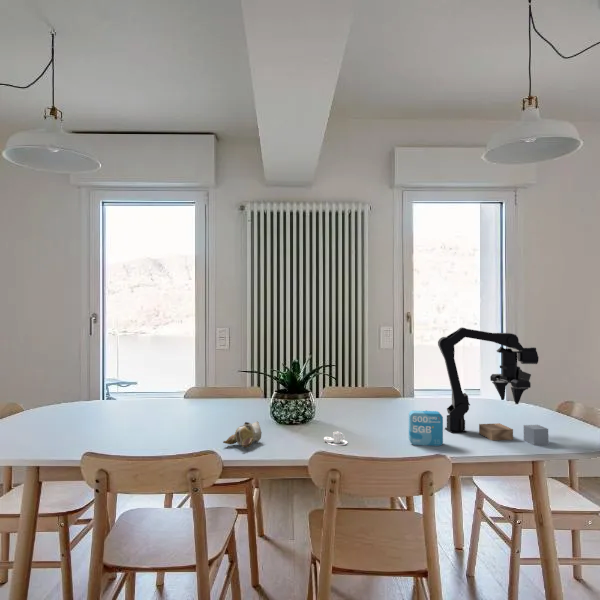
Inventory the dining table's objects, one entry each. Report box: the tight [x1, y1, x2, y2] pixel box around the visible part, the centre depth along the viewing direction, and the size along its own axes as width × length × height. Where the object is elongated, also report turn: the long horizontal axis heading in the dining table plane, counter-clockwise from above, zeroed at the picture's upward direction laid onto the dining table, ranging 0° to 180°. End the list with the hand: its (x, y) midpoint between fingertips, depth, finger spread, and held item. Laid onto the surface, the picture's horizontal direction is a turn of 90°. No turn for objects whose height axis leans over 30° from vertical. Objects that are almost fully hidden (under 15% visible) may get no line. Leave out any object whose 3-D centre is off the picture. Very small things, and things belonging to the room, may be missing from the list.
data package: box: [408, 410, 444, 447], centre depth 169 cm, size 12×4×12 cm, turn 84°
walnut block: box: [478, 422, 514, 441], centre depth 179 cm, size 9×9×4 cm
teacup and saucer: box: [323, 431, 349, 447], centre depth 171 cm, size 9×8×4 cm
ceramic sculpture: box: [222, 420, 263, 448], centre depth 167 cm, size 11×9×15 cm
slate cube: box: [523, 424, 549, 446], centre depth 172 cm, size 6×6×6 cm
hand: (509, 401), depth 183 cm, fingers open, 9 cm apart
